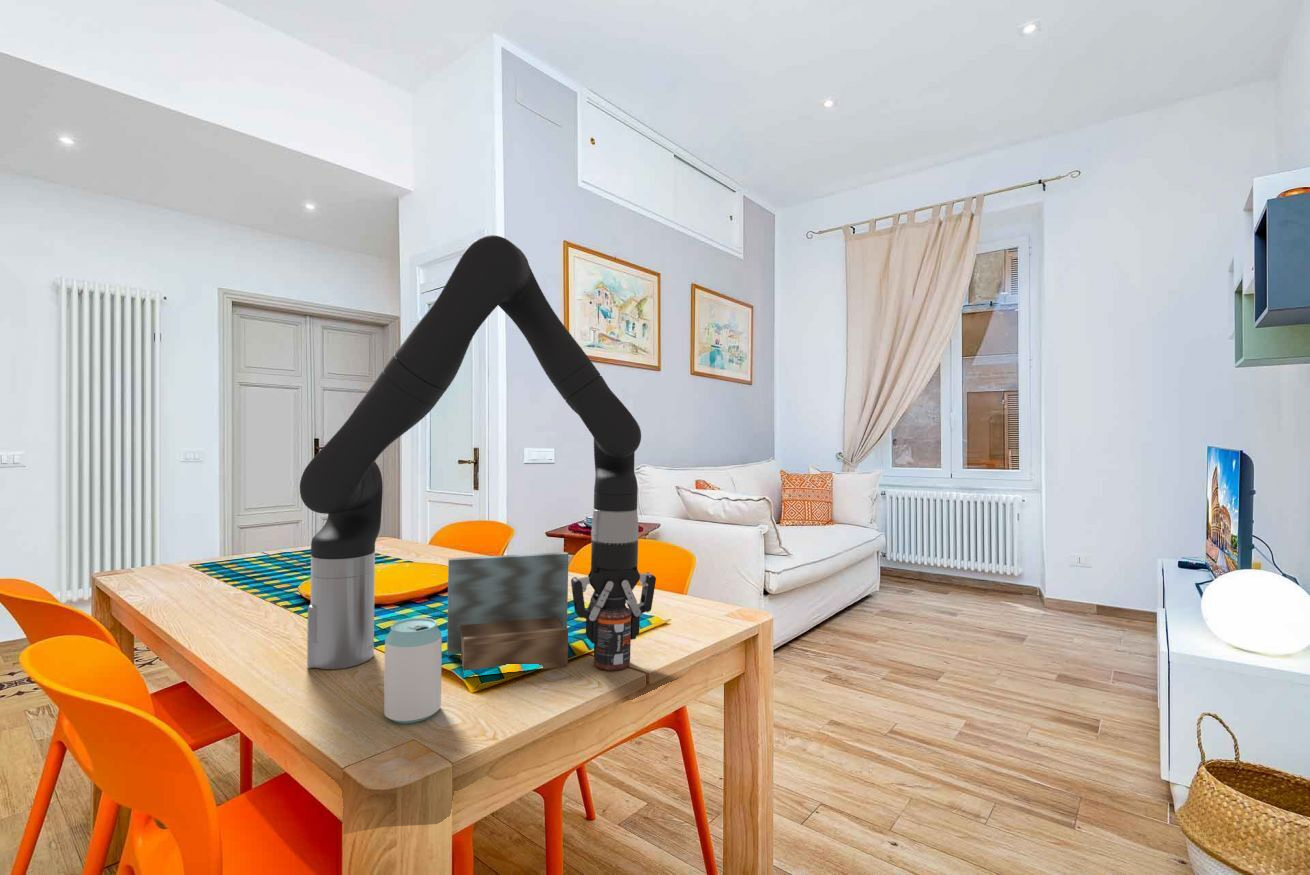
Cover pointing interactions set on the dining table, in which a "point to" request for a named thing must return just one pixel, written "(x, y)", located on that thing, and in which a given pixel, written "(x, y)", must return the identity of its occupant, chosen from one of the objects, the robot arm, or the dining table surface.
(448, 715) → the dining table surface
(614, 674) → the dining table surface
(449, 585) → the wall board
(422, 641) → the can
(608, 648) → the supplement bottle
